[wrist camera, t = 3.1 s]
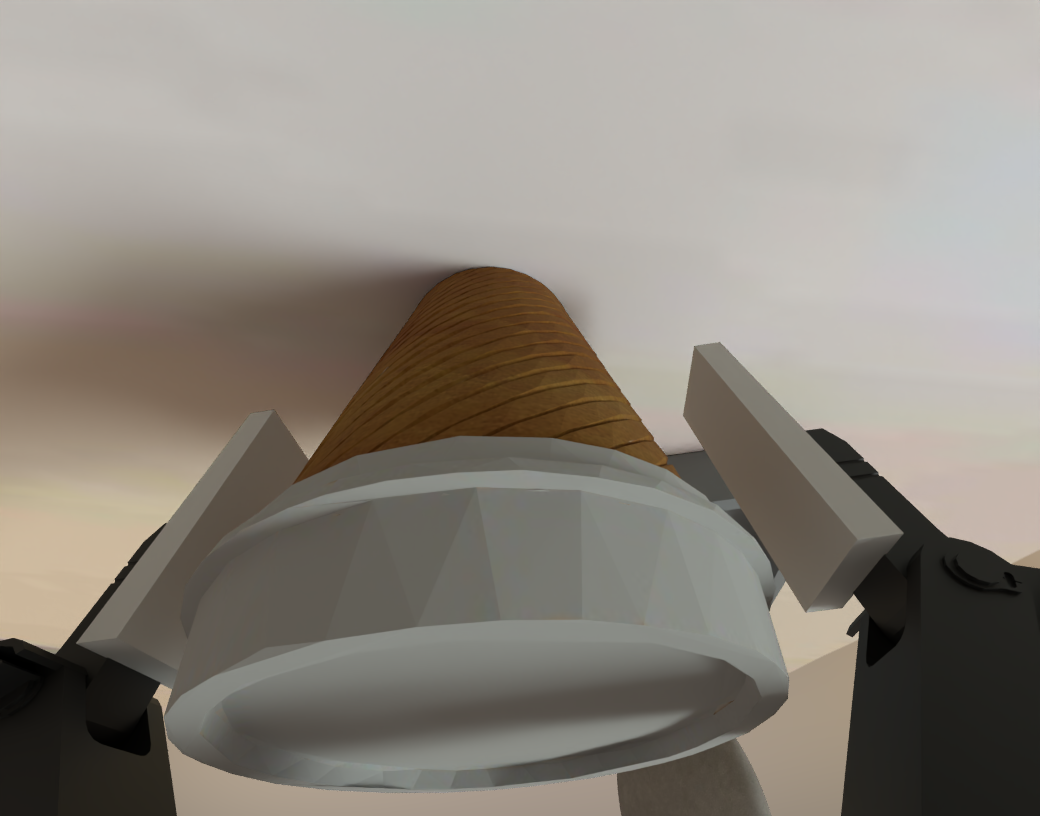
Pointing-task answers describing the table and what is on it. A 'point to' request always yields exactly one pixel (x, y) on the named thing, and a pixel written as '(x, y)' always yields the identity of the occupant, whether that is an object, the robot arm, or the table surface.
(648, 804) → the dark grey disc
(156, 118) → the table surface
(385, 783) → the disposable coffee cup
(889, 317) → the table surface
